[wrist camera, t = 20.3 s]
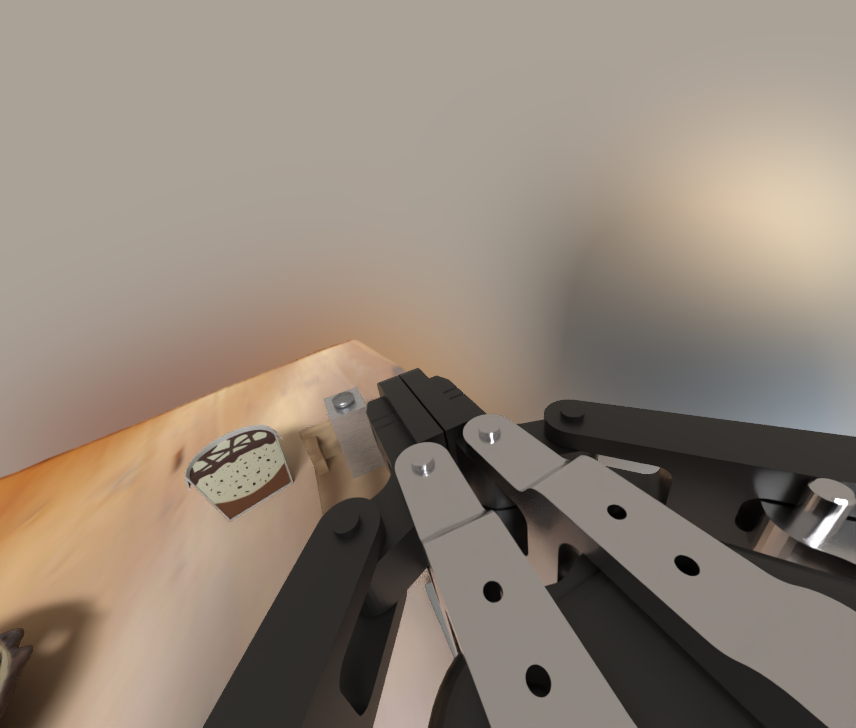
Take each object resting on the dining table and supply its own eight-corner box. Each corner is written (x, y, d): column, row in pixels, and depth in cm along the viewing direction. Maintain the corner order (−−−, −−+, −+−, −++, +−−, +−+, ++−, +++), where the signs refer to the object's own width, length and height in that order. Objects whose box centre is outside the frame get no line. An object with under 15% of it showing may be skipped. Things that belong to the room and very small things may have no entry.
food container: (290, 457, 56) (267, 411, 51) (302, 477, 51) (277, 428, 46) (213, 502, 50) (178, 455, 45) (218, 528, 45) (180, 479, 40)
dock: (334, 569, 37) (313, 531, 34) (315, 464, 53) (299, 431, 49) (449, 509, 41) (440, 469, 38) (399, 429, 57) (390, 395, 54)
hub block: (353, 479, 47) (328, 415, 42) (345, 454, 52) (322, 394, 47) (385, 464, 48) (364, 401, 43) (375, 441, 54) (355, 382, 48)
